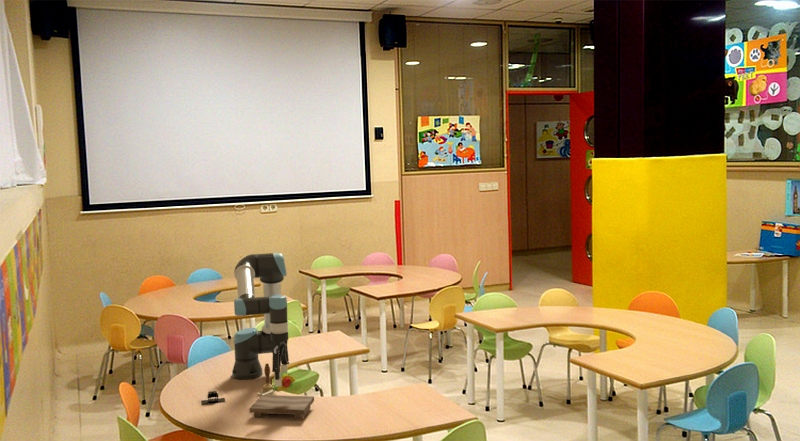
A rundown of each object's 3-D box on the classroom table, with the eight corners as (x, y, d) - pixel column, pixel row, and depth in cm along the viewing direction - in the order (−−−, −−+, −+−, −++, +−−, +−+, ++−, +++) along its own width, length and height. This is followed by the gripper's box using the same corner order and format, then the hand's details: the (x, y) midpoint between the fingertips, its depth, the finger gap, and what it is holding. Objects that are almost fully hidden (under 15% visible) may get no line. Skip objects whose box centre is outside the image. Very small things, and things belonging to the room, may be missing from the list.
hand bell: (280, 394, 334) (279, 361, 332) (271, 401, 326) (270, 367, 324) (264, 393, 336) (263, 360, 334) (255, 399, 328) (254, 365, 327)
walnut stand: (262, 405, 320) (261, 394, 319) (314, 407, 317) (313, 396, 316) (249, 419, 304) (249, 408, 304) (304, 421, 301) (304, 409, 300)
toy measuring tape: (299, 386, 311) (298, 371, 310) (262, 398, 297) (262, 383, 296) (290, 383, 315) (289, 368, 315) (253, 395, 301) (252, 380, 301)
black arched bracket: (198, 407, 322) (197, 396, 321) (198, 401, 329) (197, 391, 328) (228, 403, 325) (227, 392, 325) (227, 397, 333) (226, 387, 332)
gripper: (278, 325, 317) (280, 374, 320) (262, 338, 297) (265, 390, 299) (294, 325, 316) (296, 375, 319) (280, 338, 296) (282, 391, 298)
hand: (281, 382), depth 309 cm, fingers closed on toy measuring tape, 8 cm apart
